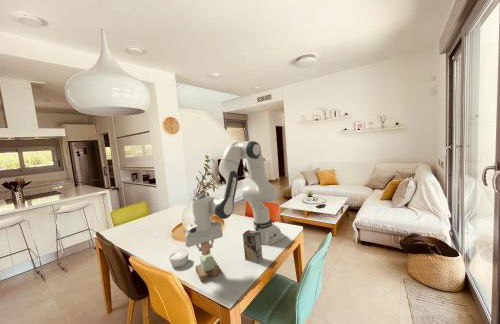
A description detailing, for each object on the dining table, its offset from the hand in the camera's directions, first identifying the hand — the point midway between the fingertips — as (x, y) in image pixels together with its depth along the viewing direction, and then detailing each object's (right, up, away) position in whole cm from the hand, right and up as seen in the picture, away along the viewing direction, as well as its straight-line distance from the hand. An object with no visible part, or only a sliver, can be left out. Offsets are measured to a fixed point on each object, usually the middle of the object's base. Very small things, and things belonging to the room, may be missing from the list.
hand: (205, 249), depth 114 cm
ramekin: (-19, -14, +14) cm, 27 cm away
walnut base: (+1, -14, +1) cm, 14 cm away
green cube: (+1, -11, +1) cm, 11 cm away
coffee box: (+27, -11, +11) cm, 31 cm away
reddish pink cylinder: (0, -2, 0) cm, 2 cm away
